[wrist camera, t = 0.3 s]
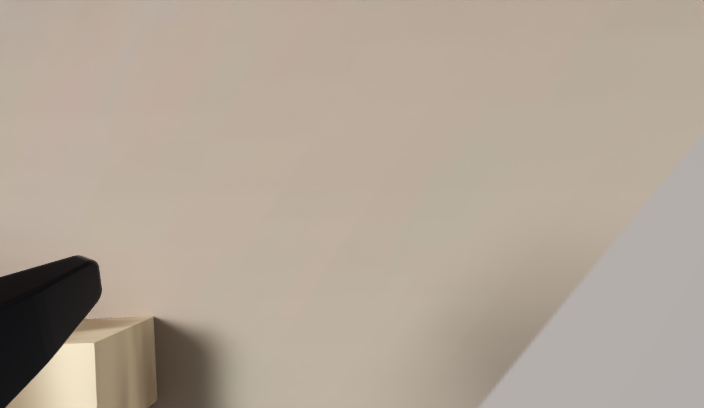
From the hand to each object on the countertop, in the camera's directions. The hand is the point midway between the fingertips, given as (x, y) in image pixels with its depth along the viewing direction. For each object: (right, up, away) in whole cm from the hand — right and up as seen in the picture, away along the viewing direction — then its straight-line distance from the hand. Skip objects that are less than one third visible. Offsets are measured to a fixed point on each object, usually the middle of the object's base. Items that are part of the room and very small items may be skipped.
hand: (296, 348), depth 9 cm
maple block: (-13, -6, +16) cm, 21 cm away
